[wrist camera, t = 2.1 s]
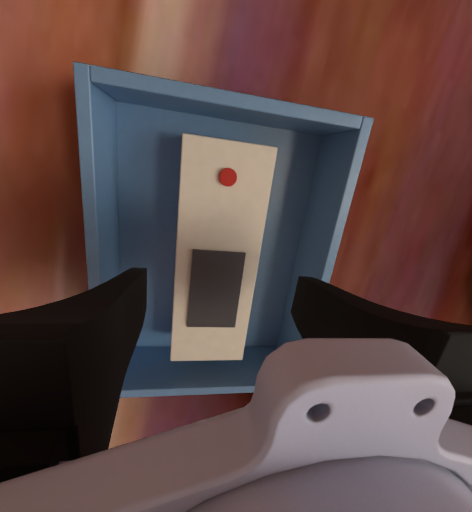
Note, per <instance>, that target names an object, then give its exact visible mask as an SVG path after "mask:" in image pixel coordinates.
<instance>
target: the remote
mask: <svg viewBox="0 0 472 512" xmlns="http://www.w3.org/2000/svg"><path fill="white" fill-rule="evenodd" d="M277 150H278V148H277V147H273V146H266V145H260V144H253V143H246V142H240V141H233V140H227V139H220V138H214V137H207V136H200V135H194V134H187V133H182V143H181V162H180V181H179V200H178V219H177V238H176V257H175V276H174V295H173V314H172V332H171V351H170V361H208V360H242V359H243V353H244V347H245V341H246V335H247V329H248V323H249V317H250V311H251V305H252V299H253V293H254V287H255V281H256V275H257V269H258V263H259V257H260V251H261V245H262V239H263V233H264V227H265V221H266V216H267V210H268V204H269V198H270V192H271V186H272V180H273V174H274V168H275V162H276V156H277Z"/></svg>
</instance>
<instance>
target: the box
mask: <svg viewBox="0 0 472 512" xmlns="http://www.w3.org/2000/svg"><path fill="white" fill-rule="evenodd" d="M73 72H74V87H75V101H76V116H77V130H78V145H79V159H80V174H81V188H82V203H83V218H84V232H85V247H86V261H87V276H88V290H90V289H92V288H94V287H96V286H98V285H100V284H102V283H104V282H106V281H108V280H110V279H112V278H114V277H115V276H117V275H119V274H121V273H122V272H124V271H126V270H128V269H130V268H132V267H137V268H147V309H146V314H145V319H144V323H143V327H142V330H141V333H140V336H139V339H138V341H137V344H136V347H135V349H134V352H133V355H132V358H131V360H130V363H129V366H128V369H127V372H126V375H125V378H124V382H123V386H122V390H121V395H120V398H128V397H153V396H179V395H204V394H229V393H254V388H255V383H256V378H257V374H258V372H259V370H260V368H261V366H262V364H263V362H264V360H265V358H266V356H268V355H269V354H271V353H272V352H273V351H275V350H276V349H277V348H279V347H280V346H282V345H283V344H284V343H287V342H292V341H297V340H301V339H303V338H302V337H301V335H300V333H299V331H298V329H297V327H296V325H295V323H294V320H293V317H292V314H291V308H292V303H293V299H294V295H295V290H296V286H297V281H298V277H299V276H307V277H314V278H317V279H319V280H322V281H324V282H327V283H329V282H330V278H331V274H332V271H333V267H334V263H335V260H336V256H337V252H338V249H339V245H340V241H341V238H342V234H343V230H344V227H345V223H346V219H347V216H348V212H349V208H350V204H351V201H352V197H353V193H354V190H355V186H356V182H357V179H358V175H359V171H360V168H361V164H362V160H363V157H364V153H365V149H366V146H367V142H368V138H369V135H370V131H371V127H372V124H373V120H374V118H371V117H366V116H361V115H355V114H350V113H345V112H340V111H334V110H329V109H324V108H318V107H313V106H308V105H302V104H297V103H292V102H287V101H281V100H276V99H271V98H265V97H260V96H255V95H249V94H244V93H239V92H234V91H228V90H223V89H218V88H212V87H207V86H202V85H196V84H191V83H186V82H181V81H175V80H170V79H165V78H159V77H154V76H149V75H144V74H138V73H133V72H128V71H122V70H117V69H112V68H106V67H101V66H96V65H89V64H85V63H80V62H73ZM182 133H187V134H194V135H200V136H207V137H214V138H220V139H227V140H233V141H240V142H246V143H253V144H260V145H266V146H273V147H277V148H278V150H277V156H276V162H275V168H274V174H273V180H272V186H271V192H270V198H269V204H268V210H267V216H266V221H265V227H264V233H263V239H262V245H261V251H260V257H259V263H258V269H257V275H256V281H255V287H254V293H253V299H252V305H251V311H250V317H249V323H248V329H247V335H246V341H245V347H244V353H243V359H242V360H208V361H170V351H171V332H172V314H173V295H174V276H175V257H176V238H177V219H178V200H179V181H180V162H181V143H182Z"/></svg>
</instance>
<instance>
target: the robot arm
mask: <svg viewBox="0 0 472 512" xmlns="http://www.w3.org/2000/svg"><path fill="white" fill-rule="evenodd" d="M146 309H147V268H137V267H132V268H130V269H128V270H126V271H124V272H122V273H121V274H119V275H117V276H115V277H114V278H112V279H110V280H108V281H106V282H104V283H102V284H100V285H98V286H96V287H94V288H92V289H90V290H88V291H85V292H83V293H80V294H78V295H75V296H72V297H70V298H67V299H63V300H60V301H56V302H53V303H49V304H46V305H42V306H38V307H34V308H30V309H25V310H20V311H15V312H9V313H3V314H0V512H472V326H471V325H464V324H457V323H450V322H445V321H440V320H435V319H429V318H425V317H421V316H416V315H412V314H409V313H405V312H401V311H398V310H394V309H391V308H388V307H385V306H382V305H379V304H376V303H373V302H370V301H368V300H365V299H363V298H360V297H358V296H356V295H353V294H351V293H349V292H346V291H344V290H342V289H340V288H338V287H335V286H333V285H331V284H329V283H327V282H324V281H322V280H319V279H317V278H314V277H307V276H299V277H298V281H297V286H296V290H295V295H294V299H293V303H292V308H291V314H292V317H293V320H294V323H295V325H296V327H297V329H298V331H299V333H300V335H301V337H302V338H303V339H301V340H297V341H292V342H287V343H284V344H283V345H282V346H280V347H279V348H277V349H276V350H275V351H273V352H272V353H271V354H269V355H268V356H266V358H265V360H264V362H263V364H262V366H261V368H260V370H259V372H258V374H257V378H256V383H255V388H254V393H253V396H252V399H251V401H250V403H249V404H247V405H246V406H245V407H243V408H239V409H236V410H233V411H230V412H227V413H223V414H220V415H217V416H214V417H210V418H207V419H204V420H201V421H198V422H194V423H191V424H188V425H185V426H181V427H178V428H175V429H172V430H169V431H165V432H162V433H159V434H156V435H152V436H149V437H146V438H143V439H139V440H136V441H133V442H130V443H127V444H123V445H120V446H117V447H114V448H110V449H108V447H109V443H110V438H111V433H112V429H113V424H114V420H115V416H116V411H117V407H118V403H119V399H120V395H121V390H122V386H123V382H124V378H125V375H126V372H127V369H128V366H129V363H130V360H131V358H132V355H133V352H134V349H135V347H136V344H137V341H138V339H139V336H140V333H141V330H142V327H143V323H144V319H145V314H146Z"/></svg>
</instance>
